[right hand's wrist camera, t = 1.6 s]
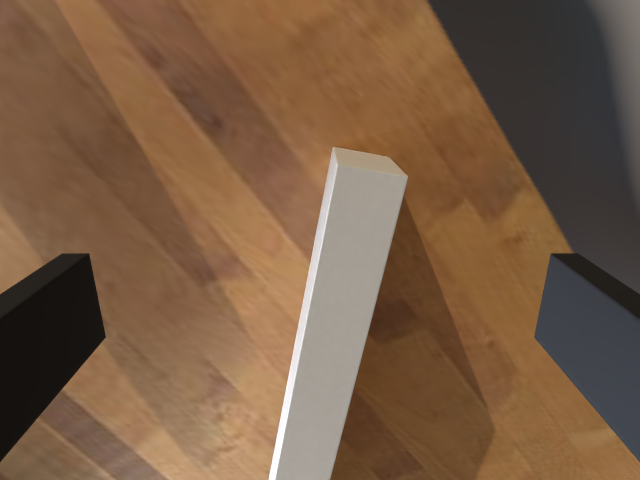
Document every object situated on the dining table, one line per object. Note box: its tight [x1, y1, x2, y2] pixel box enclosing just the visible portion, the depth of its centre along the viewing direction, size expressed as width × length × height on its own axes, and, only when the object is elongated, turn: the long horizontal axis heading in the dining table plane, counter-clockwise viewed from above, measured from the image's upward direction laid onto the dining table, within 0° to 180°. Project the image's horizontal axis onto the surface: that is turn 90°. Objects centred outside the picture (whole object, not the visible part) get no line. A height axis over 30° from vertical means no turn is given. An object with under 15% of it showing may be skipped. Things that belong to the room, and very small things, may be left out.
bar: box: [269, 147, 408, 480], centre depth 42 cm, size 54×5×8 cm, turn 170°
